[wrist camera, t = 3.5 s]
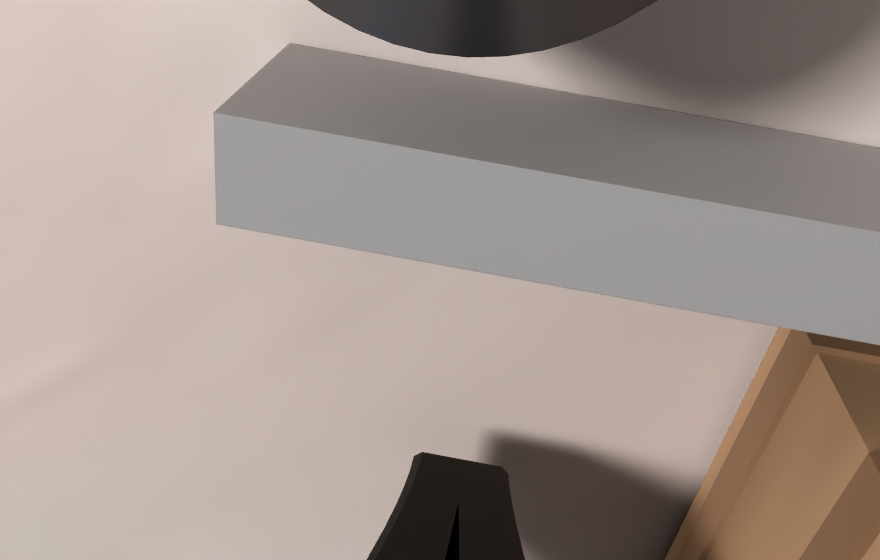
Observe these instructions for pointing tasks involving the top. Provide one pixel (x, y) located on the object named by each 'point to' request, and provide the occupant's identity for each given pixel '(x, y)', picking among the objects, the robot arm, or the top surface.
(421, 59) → the top surface
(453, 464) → the robot arm
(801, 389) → the tan cardboard box
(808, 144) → the bay
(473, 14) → the winch
